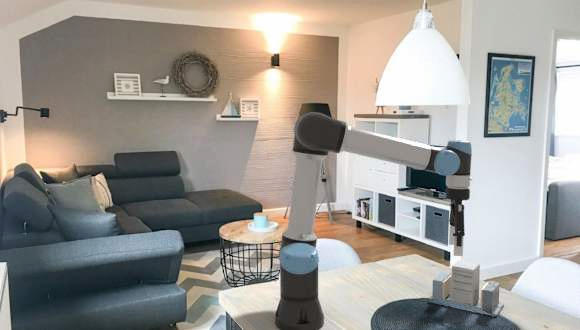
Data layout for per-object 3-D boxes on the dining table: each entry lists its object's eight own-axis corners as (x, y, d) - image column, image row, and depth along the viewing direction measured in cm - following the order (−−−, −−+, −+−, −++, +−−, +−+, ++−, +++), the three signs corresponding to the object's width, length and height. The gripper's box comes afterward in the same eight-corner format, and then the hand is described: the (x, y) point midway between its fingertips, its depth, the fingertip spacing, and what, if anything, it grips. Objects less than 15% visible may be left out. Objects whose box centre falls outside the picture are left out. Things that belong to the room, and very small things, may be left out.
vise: (496, 317, 151) (497, 293, 150) (427, 302, 163) (427, 279, 162) (503, 306, 160) (504, 282, 159) (437, 292, 172) (438, 270, 171)
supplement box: (457, 295, 167) (458, 260, 165) (479, 300, 162) (480, 263, 161) (450, 302, 161) (451, 265, 160) (472, 307, 156) (474, 269, 155)
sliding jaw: (442, 301, 161) (443, 281, 160) (432, 299, 163) (432, 279, 162) (452, 292, 169) (452, 273, 168) (441, 290, 171) (442, 271, 170)
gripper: (476, 193, 146) (473, 261, 149) (464, 182, 171) (462, 241, 173) (450, 192, 148) (447, 259, 150) (442, 181, 172) (440, 239, 174)
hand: (455, 250), depth 161 cm, fingers open, 13 cm apart
